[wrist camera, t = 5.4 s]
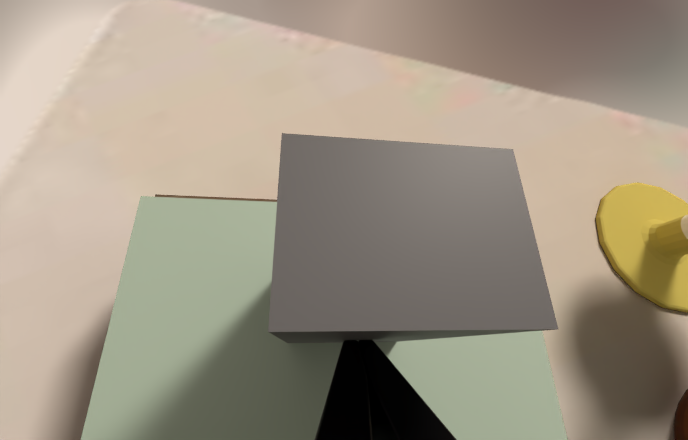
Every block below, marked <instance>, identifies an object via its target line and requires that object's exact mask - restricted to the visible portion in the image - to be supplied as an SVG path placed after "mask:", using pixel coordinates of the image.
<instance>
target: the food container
mask: <svg viewBox="0 0 688 440" xmlns="http://www.w3.org/2000/svg"><path fill="white" fill-rule="evenodd" d="M674 437H675V440H688V389H687V390H686V392H685V394H684V395H683V397H682V399H681V400H680V402H679V404H678V407H677V410H676V414H675V423H674Z"/></svg>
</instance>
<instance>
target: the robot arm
mask: <svg viewBox="0 0 688 440" xmlns="http://www.w3.org/2000/svg"><path fill="white" fill-rule="evenodd" d="M315 440H457V439H456V438H455V437H454V436H453V435H452V433H451V432H450V431H449V430H448V429H447V427H446V426H445V425H444V424H443V423H442V421H441V420H440V419H439V418H438V417H437V416H436V414H435V413H434V412H433V411H432V410H431V408H430V407H429V406H428V405H427V404H426V402H425V401H424V400H423V399H422V398H421V396H420V395H419V394H418V393H417V392H416V391H415V389H414V388H413V387H412V386H411V385H410V383H409V382H408V381H407V380H406V379H405V377H404V376H403V375H402V374H401V373H400V372H399V370H398V369H397V368H396V367H395V366H394V364H393V363H392V362H391V361H390V360H389V358H388V357H387V356H386V355H385V354H384V352H383V351H382V350H381V349H380V348H379V347H378V345H377V344H376V343H375V342H374V341H373V340H359V341H357V340H344V341H343V344H342V347H341V351H340V354H339V357H338V361H337V364H336V368H335V371H334V375H333V378H332V381H331V385H330V388H329V392H328V395H327V398H326V402H325V405H324V409H323V412H322V416H321V419H320V422H319V426H318V429H317V433H316V436H315Z"/></svg>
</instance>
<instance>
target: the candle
mask: <svg viewBox="0 0 688 440" xmlns="http://www.w3.org/2000/svg"><path fill="white" fill-rule="evenodd" d="M596 224H597V230H598V236H599V242H600V245H601V246H602V248H603V250H604V252H605V254H606V256H607V258H608V260H609V261H610V263H611V265H612V267H613V269H614V270H615V271H616V272H617V273H618V274H619V275H620V276H621V277H622V278H623V279H624V280H625V281H626V283H627V284H628V285H629V286H630V287H631V288H632V289H633V290H634V291H635V292H636V293H638V294H640V295H641V296H643V297H645V298H647V299H648V300H650V301H652V302H653V303H655V304H657V305H658V306H660V307H662V308H666V309H671V310H677V311H682V312H687V313H688V204H687V203H686V202H685V201H684V200H682V199H680V198H678V197H677V196H675V195H673V194H671V193H669V192H668V191H666V190H664V189H662V188H660V187H656V186H651V185H647V184H642V183H632V184H626V185H621V186H616V187H614V188H613V189H612V190H611V191H610V192H609V193H608V194H607V195H605V196H604V197H603V198H602V199H601V201H600V205H599V208H598V212H597V215H596Z"/></svg>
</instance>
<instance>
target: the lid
mask: <svg viewBox="0 0 688 440" xmlns="http://www.w3.org/2000/svg"><path fill="white" fill-rule="evenodd" d="M555 329H558V326H557V322H556V318H555V314H554V310H553V306H552V302H551V299H550V295H549V291H548V287H547V283H546V279H545V275H544V271H543V267H542V263H541V259H540V255H539V251H538V247H537V243H536V239H535V235H534V231H533V227H532V223H531V219H530V215H529V211H528V207H527V203H526V199H525V195H524V191H523V187H522V183H521V179H520V175H519V171H518V167H517V163H516V159H515V156H514V152H513V149H501V148H487V147H472V146H458V145H443V144H429V143H414V142H400V141H385V140H371V139H356V138H342V137H327V136H313V135H298V134H284V133H282V140H281V154H280V168H279V183H278V197H277V202H266V201H242V200H218V199H195V198H171V197H147V196H141V198H140V202H139V206H138V210H137V214H136V218H135V222H134V226H133V230H132V234H131V238H130V242H129V246H128V250H127V254H126V258H125V262H124V266H123V270H122V274H121V278H120V282H119V287H118V291H117V295H116V299H115V303H114V307H113V311H112V315H111V319H110V323H109V327H108V331H107V335H106V339H105V343H104V347H103V351H102V355H101V359H100V363H99V367H98V371H97V375H96V380H95V384H94V388H93V392H92V396H91V400H90V404H89V408H88V412H87V416H86V420H85V424H84V428H83V432H82V436H81V440H315V436H316V433H317V429H318V426H319V422H320V419H321V416H322V412H323V409H324V405H325V402H326V398H327V395H328V392H329V388H330V385H331V381H332V378H333V375H334V371H335V368H336V364H337V361H338V357H339V354H340V351H341V347H342V344H343V341H344V340H357V341H359V340H373V341H374V342H375V343H376V344H377V345H378V347H379V348H380V349H381V350H382V351H383V352H384V354H385V355H386V356H387V357H388V358H389V360H390V361H391V362H392V363H393V364H394V366H395V367H396V368H397V369H398V370H399V372H400V373H401V374H402V375H403V376H404V377H405V379H406V380H407V381H408V382H409V383H410V385H411V386H412V387H413V388H414V389H415V391H416V392H417V393H418V394H419V395H420V396H421V398H422V399H423V400H424V401H425V402H426V404H427V405H428V406H429V407H430V408H431V410H432V411H433V412H434V413H435V414H436V416H437V417H438V418H439V419H440V420H441V421H442V423H443V424H444V425H445V426H446V427H447V429H448V430H449V431H450V432H451V433H452V435H453V436H454V437H455V438H456V439H457V440H568V439H567V435H566V431H565V426H564V422H563V418H562V414H561V409H560V405H559V401H558V396H557V392H556V388H555V384H554V379H553V375H552V371H551V366H550V362H549V358H548V354H547V349H546V345H545V341H544V337H543V332H542V330H555Z"/></svg>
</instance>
